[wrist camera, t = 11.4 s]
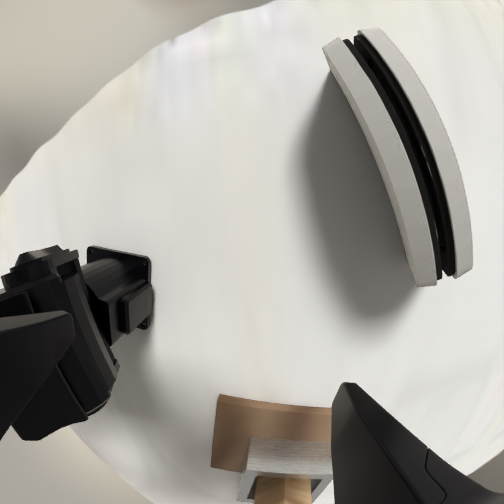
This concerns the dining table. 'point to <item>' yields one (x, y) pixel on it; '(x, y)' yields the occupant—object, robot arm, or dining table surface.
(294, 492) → the oak block
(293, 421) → the walnut board
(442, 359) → the dining table surface
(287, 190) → the dining table surface
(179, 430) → the dining table surface
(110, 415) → the dining table surface
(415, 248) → the grey napkin holder
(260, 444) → the steel end cap
